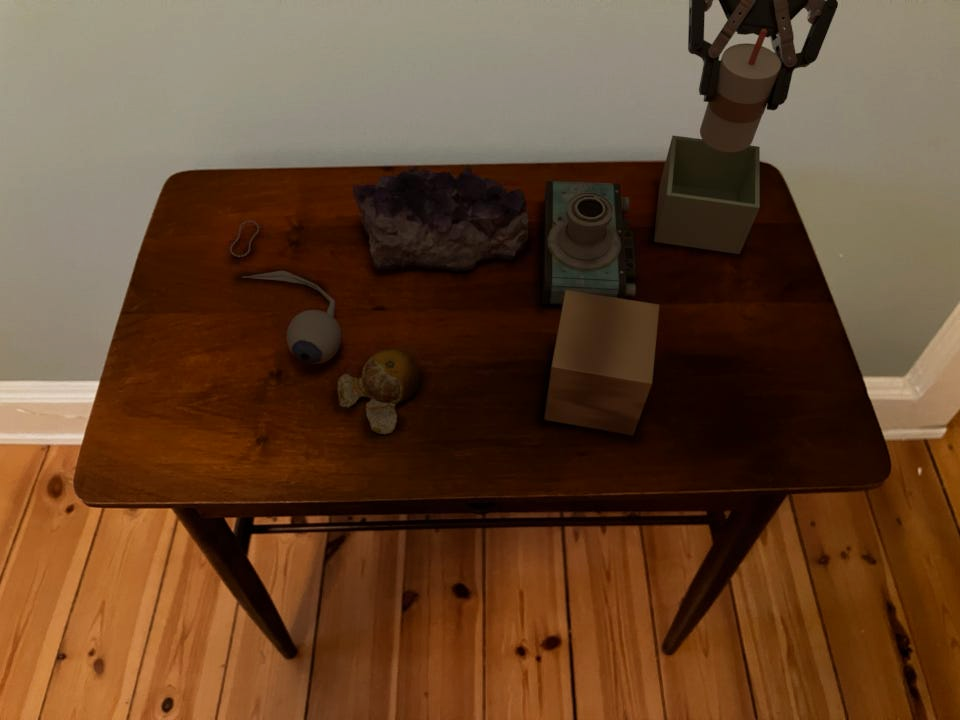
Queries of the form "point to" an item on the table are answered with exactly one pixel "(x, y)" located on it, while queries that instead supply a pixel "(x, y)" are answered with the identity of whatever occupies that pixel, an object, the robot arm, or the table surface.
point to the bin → (707, 196)
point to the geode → (441, 220)
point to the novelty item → (310, 325)
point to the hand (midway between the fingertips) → (740, 104)
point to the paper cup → (740, 95)
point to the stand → (602, 362)
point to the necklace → (250, 240)
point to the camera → (587, 241)
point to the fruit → (381, 387)
